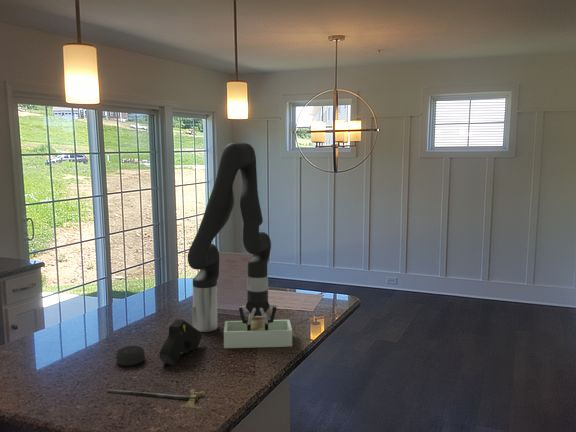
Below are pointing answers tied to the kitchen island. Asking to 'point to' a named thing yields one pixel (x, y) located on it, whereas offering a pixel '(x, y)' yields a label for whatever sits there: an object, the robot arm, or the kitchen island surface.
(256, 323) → the block
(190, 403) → the decorative axe
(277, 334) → the tub
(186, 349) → the taser
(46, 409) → the kitchen island surface
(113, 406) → the kitchen island surface
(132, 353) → the smart speaker
